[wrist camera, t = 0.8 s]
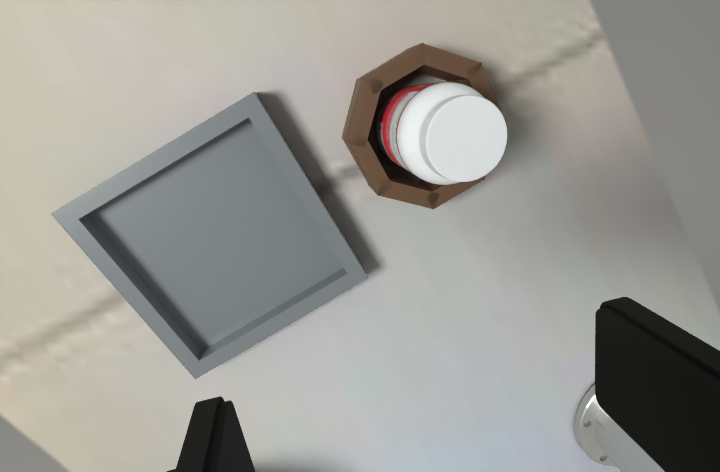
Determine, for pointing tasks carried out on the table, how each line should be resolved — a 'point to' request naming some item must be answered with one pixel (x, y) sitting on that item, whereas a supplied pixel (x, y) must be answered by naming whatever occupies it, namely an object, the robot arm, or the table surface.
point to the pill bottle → (442, 132)
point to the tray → (216, 237)
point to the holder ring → (364, 110)
